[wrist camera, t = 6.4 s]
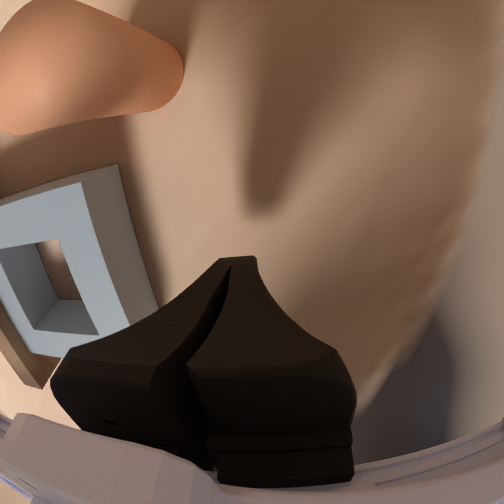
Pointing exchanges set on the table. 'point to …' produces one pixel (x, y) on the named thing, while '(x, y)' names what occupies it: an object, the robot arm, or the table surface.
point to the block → (72, 262)
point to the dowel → (79, 67)
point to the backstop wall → (24, 355)
